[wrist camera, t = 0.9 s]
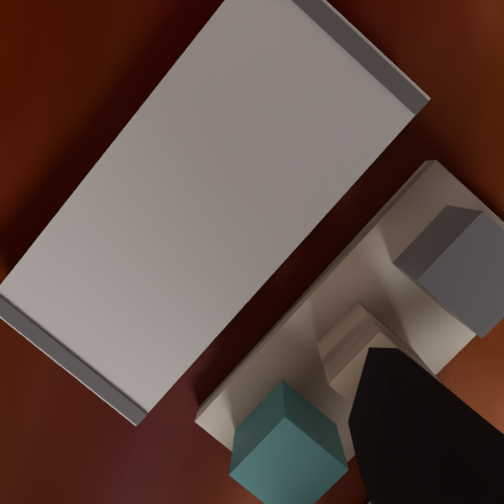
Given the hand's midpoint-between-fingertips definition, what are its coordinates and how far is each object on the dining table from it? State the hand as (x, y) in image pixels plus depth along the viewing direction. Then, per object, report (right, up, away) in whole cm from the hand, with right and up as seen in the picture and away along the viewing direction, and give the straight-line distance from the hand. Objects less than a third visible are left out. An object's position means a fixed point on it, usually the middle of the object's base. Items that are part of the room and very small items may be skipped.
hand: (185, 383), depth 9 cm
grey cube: (+11, +2, +15) cm, 19 cm away
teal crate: (+3, -7, +17) cm, 19 cm away
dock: (-1, +5, +17) cm, 17 cm away
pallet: (+7, -2, +18) cm, 19 cm away
